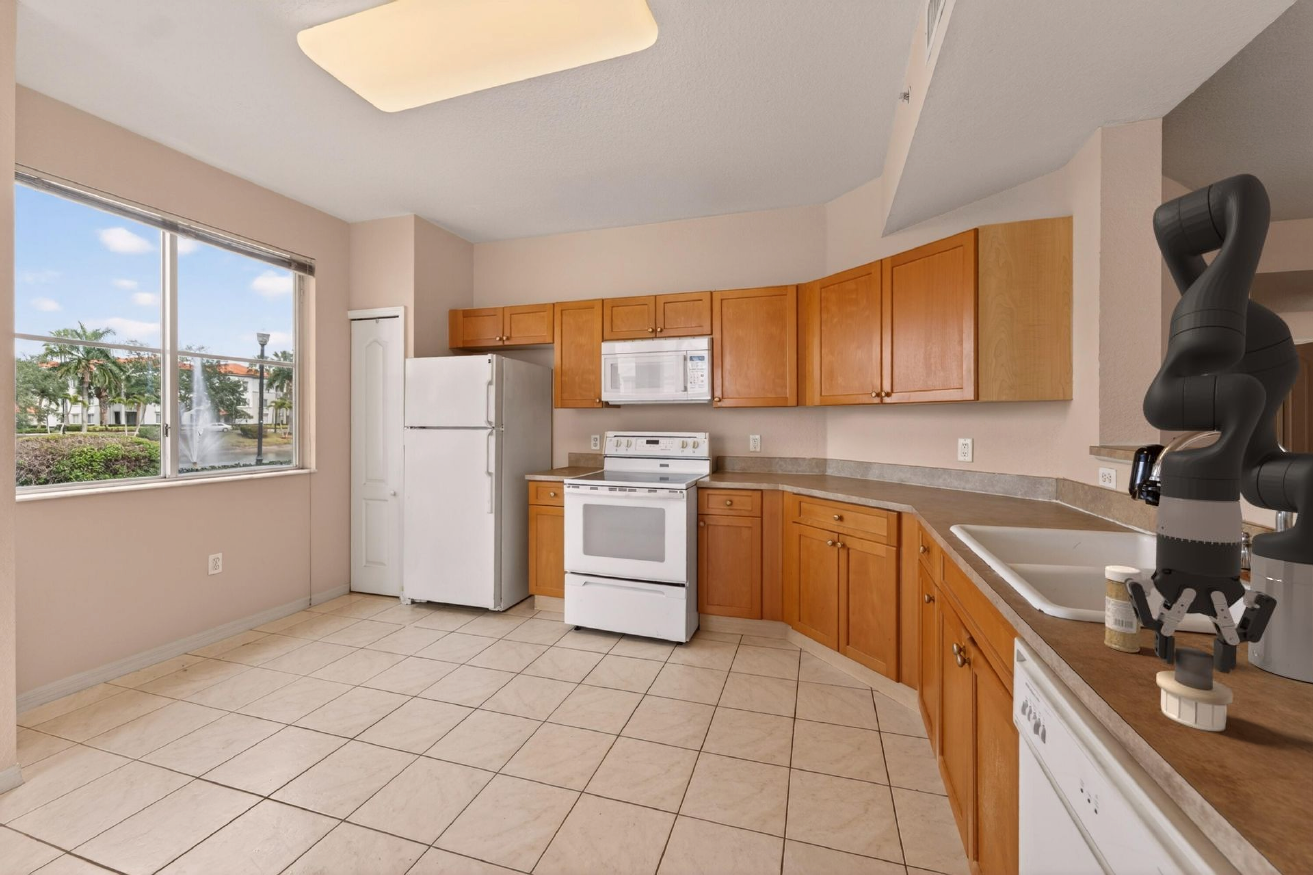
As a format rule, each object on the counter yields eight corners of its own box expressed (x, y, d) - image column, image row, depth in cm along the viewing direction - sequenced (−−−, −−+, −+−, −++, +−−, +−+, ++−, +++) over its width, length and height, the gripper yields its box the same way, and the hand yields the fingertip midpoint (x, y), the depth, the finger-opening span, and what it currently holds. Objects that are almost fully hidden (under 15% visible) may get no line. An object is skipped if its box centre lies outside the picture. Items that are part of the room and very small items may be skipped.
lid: (1187, 677, 71) (1188, 640, 70) (1249, 704, 64) (1250, 663, 64) (1141, 679, 70) (1142, 642, 70) (1199, 707, 63) (1200, 666, 63)
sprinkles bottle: (1143, 649, 87) (1145, 569, 87) (1134, 656, 85) (1136, 573, 84) (1108, 639, 91) (1110, 563, 91) (1099, 646, 89) (1101, 567, 88)
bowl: (1187, 705, 70) (1188, 679, 70) (1239, 730, 64) (1239, 702, 64) (1149, 707, 70) (1149, 681, 69) (1197, 732, 64) (1198, 704, 64)
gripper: (1134, 533, 66) (1131, 667, 67) (1298, 545, 60) (1293, 693, 60) (1115, 523, 73) (1112, 644, 73) (1259, 533, 66) (1255, 665, 67)
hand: (1193, 665), depth 67 cm, fingers open, 4 cm apart
